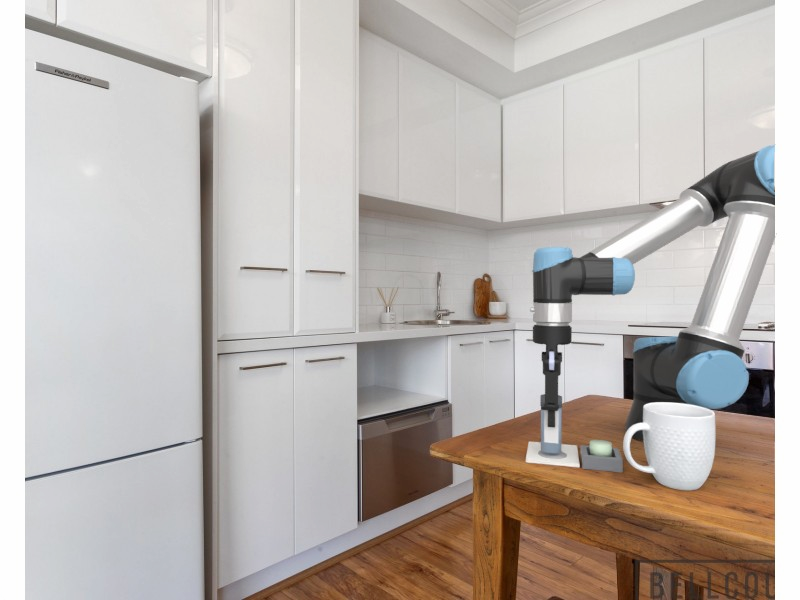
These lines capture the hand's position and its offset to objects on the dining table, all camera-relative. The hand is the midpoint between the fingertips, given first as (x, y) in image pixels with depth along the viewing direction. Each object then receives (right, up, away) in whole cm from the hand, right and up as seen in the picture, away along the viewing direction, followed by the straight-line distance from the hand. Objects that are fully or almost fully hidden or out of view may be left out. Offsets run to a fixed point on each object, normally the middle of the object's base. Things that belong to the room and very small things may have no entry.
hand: (551, 438), depth 99 cm
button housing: (+8, -4, -4) cm, 10 cm away
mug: (+17, -4, -14) cm, 22 cm away
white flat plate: (+1, -4, +2) cm, 4 cm away
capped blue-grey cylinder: (0, -2, 0) cm, 2 cm away
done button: (+8, -2, -4) cm, 10 cm away
